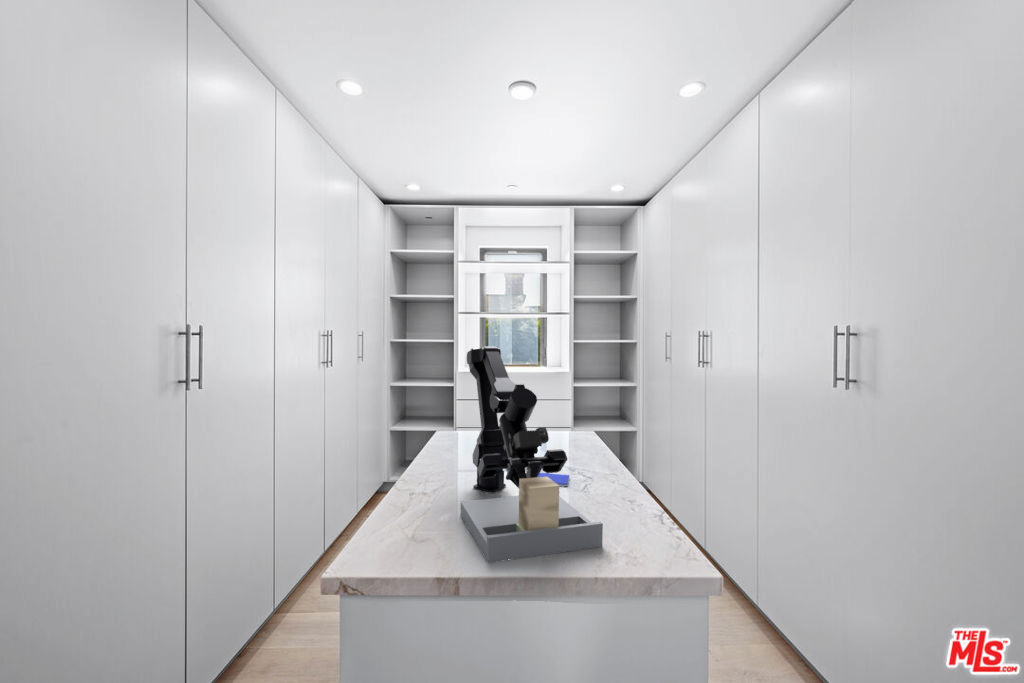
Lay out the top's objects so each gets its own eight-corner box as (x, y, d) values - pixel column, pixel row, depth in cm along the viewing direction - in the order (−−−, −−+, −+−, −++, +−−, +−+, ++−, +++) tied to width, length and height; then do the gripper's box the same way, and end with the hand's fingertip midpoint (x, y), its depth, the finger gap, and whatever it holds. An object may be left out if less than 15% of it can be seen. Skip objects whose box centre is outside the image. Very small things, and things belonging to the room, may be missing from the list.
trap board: (460, 514, 105) (460, 495, 105) (554, 504, 112) (554, 486, 112) (488, 562, 83) (488, 537, 83) (602, 546, 90) (602, 523, 90)
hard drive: (522, 479, 128) (567, 483, 126) (526, 471, 136) (569, 474, 134) (522, 485, 128) (567, 489, 126) (526, 476, 136) (569, 479, 134)
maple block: (518, 523, 93) (519, 478, 93) (546, 520, 95) (547, 476, 95) (529, 536, 87) (530, 488, 87) (558, 532, 89) (559, 485, 89)
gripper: (482, 415, 96) (496, 485, 86) (564, 412, 102) (587, 477, 92) (472, 445, 104) (484, 512, 93) (549, 440, 110) (569, 503, 99)
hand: (532, 500), depth 94 cm, fingers closed, pressing on maple block
